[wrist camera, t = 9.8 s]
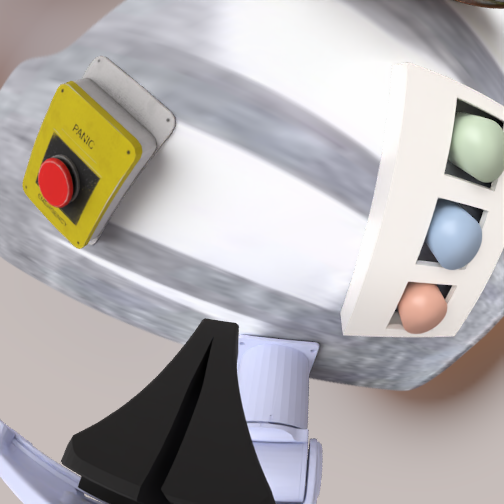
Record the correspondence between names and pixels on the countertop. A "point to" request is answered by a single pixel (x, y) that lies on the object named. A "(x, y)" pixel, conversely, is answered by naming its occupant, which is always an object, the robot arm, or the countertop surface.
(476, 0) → the tin
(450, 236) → the slate blue button
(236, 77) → the countertop surface
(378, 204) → the button panel
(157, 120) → the emergency button
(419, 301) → the terracotta button
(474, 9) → the countertop surface
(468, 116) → the sage green button
